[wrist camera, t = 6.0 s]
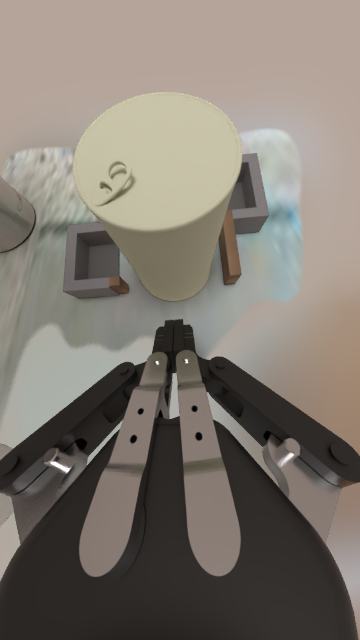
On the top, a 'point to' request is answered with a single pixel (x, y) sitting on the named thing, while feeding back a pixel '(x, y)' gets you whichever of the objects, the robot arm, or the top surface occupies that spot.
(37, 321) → the top surface
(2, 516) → the pill bottle
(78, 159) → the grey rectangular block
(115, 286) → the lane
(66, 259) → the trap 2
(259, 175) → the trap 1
